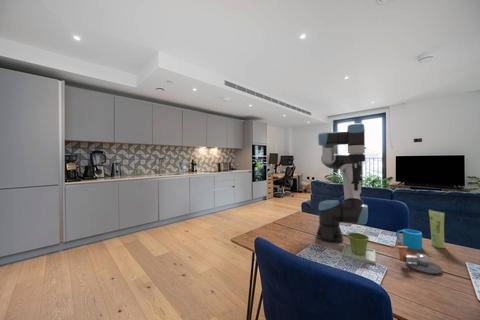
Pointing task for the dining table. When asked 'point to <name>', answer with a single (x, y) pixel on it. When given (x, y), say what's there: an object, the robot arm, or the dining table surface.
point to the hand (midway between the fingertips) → (357, 195)
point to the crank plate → (425, 268)
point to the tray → (368, 257)
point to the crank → (413, 257)
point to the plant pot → (358, 243)
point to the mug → (411, 238)
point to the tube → (437, 228)
